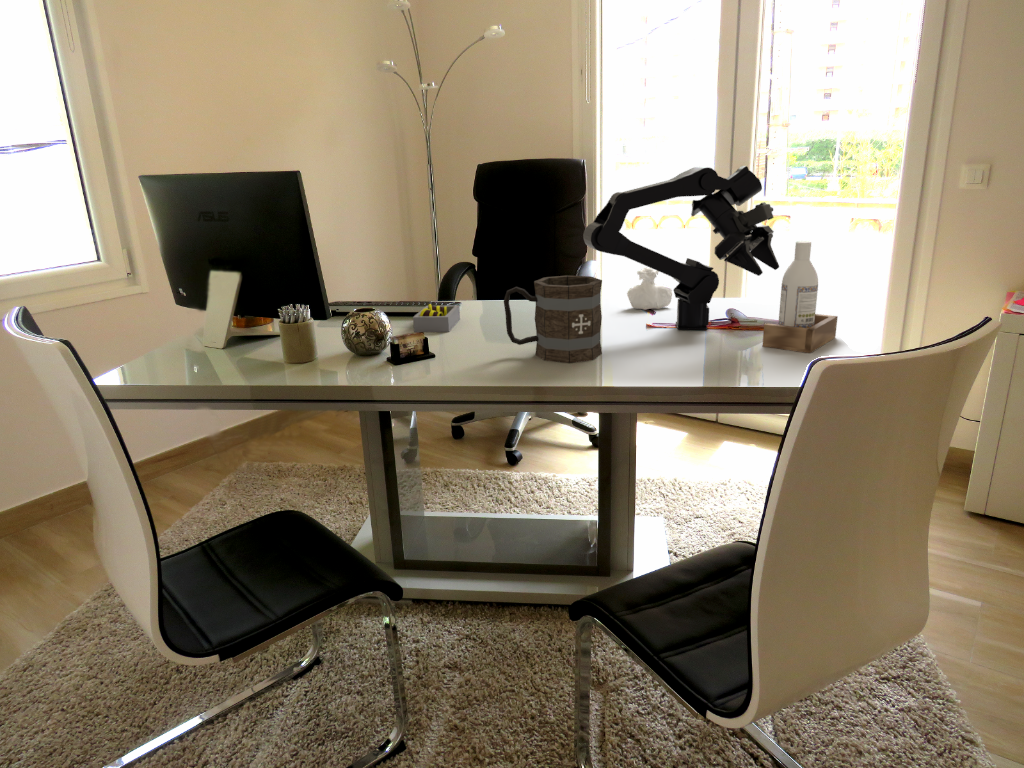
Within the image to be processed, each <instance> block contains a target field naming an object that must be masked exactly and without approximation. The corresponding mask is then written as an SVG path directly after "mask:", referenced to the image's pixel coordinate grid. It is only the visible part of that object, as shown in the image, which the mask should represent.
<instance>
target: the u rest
mask: <svg viewBox="0 0 1024 768" xmlns="http://www.w3.org/2000/svg"><path fill="white" fill-rule="evenodd" d="M837 325H838V315H831V314H830V315H828V314H820V313H819V314H818V313H815V322H814V326H812V327H810V328H801V327H792V326H784V325H778V324H775V323H764V324H763V334H762V336H763V337H762V344H761V345H762V347H765V348H771V349H778V350H779V349H780V350H786V351H791V352H792V351H794V352H800V353H807V354H812V353H813V352H815V351H816V350H818V349H819V348H821V347H822V346H824V345H826V344H827V343H830V342H831V341H832V340H834V339H835V338H836V335H837Z"/></svg>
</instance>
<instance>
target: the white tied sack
mask: <svg viewBox="0 0 1024 768" xmlns="http://www.w3.org/2000/svg"><path fill="white" fill-rule="evenodd" d="M636 273H637V276H639V278H638V280H639V281H641V280H642V282H641V283H640V284H638V285H634V286H633V287H631V288H629V289H628V291H627V292H626V295H627V298H628V301H629V303H630V305H631V307H632V308H633V309H636V310H637V309H638V310H639V309H640V310H649V309H651V310H653V309H657V310H660V309H662V308H666V307H667V306H669V305H670V304H671V302H672V299H673V298H672V297H673V292H672V291H673V290H672V288H671V287H669V286H667V285H664V284H660V283H656V282H655V279H656V278H657V275H659V273H660V272H659V271H657V270H655V269H652V268H650V267H644V268H642V269H641V270H638V271H637V272H636Z"/></svg>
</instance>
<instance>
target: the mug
mask: <svg viewBox="0 0 1024 768" xmlns="http://www.w3.org/2000/svg"><path fill="white" fill-rule="evenodd" d="M602 284H603V280H602V279H600V278H596V277H594V276H588V275H587V276H586V275H585V276H584V275H568V274H567V275H560V276H559V275H558V276H557V275H556V276H546V277H542V278H539V279H537V280H534V281H533V285H534V287H533V288H534V292H535V295H531V294H530V293H529V292H528V291H527V290H526V289H525V288H521V287H519V286H514V287H513V288H510V289H507V290H506V293H505V295H504V299H503V306H504V313H505V326H506V333H507V336H508V338H509V339H510V341H511V342H512V343H513V344H517V345H519V346H521V345H525V344H528V343H529V344H530V343H534V342H536V345H535V346H536V347H535V356H537V357H538V358H540V359H542V360H543V361H544V362H551V363H552V362H554V363H562V364H573V363H580V362H581V363H583V362H589V361H595V360H596V359H597V358H598V357H600V356H601V355H602V344H601V338H602V337H601V336H602V334H601V331H602V319H603V315H602V307H601V306H602V304H601V302H602V299H601V296H602V295H601V293H602ZM516 292H517V293H519V294H520V295H522V296H523V297H524V298H525V299H526V300H527V301H529V302H534V303H535V309H534V322H535V323H534V324H535V330H536V331H535V332H536V335H532V336H527V337H524V338H522V339H519V338H517V337H515V335H514V333H513V324H512V319H513V318H512V312H511V310H512V309H511V306H510V298H511V297H510V296H511V295H512V294H514V293H516Z"/></svg>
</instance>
